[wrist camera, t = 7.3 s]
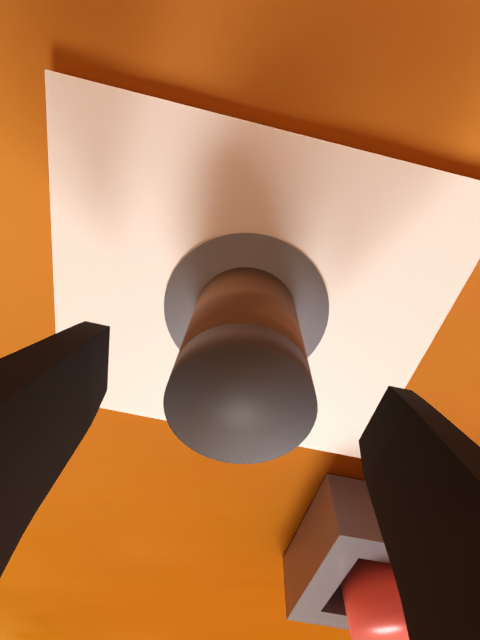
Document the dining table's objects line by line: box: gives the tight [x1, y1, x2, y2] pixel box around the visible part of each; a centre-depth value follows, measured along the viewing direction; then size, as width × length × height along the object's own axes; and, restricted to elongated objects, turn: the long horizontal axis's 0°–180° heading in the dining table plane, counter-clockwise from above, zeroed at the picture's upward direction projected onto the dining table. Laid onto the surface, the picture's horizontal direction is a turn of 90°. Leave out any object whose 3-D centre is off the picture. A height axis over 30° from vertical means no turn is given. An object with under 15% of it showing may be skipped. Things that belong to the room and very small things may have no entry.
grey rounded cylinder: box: [163, 267, 318, 464], centre depth 10 cm, size 4×4×5 cm
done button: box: [341, 558, 409, 640], centre depth 16 cm, size 4×4×2 cm
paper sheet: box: [45, 69, 480, 458], centre depth 13 cm, size 14×12×1 cm
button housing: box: [283, 474, 390, 629], centre depth 18 cm, size 8×8×3 cm
